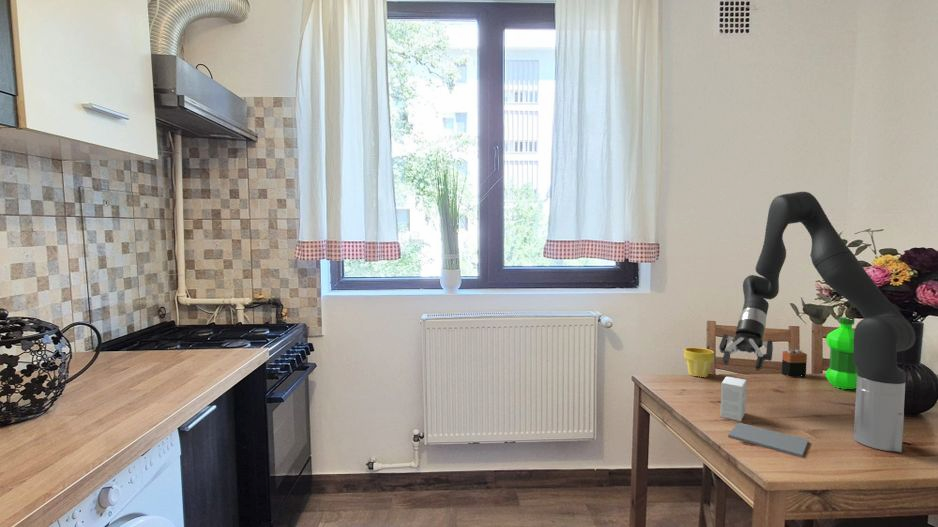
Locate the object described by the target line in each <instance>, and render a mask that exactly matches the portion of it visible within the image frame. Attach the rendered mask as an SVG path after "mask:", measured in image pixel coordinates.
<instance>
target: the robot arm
mask: <svg viewBox="0 0 938 527" xmlns="http://www.w3.org/2000/svg"><path fill="white" fill-rule="evenodd" d="M767 213H768V214H767V219H766V220H767V221H766V227H765V232H764V241H763V245H762V249H761V252H760V253H759V254H760V255H759V257H758V260H757V262H756V266H755V272H756V273H757V275H755V274H751V275H748V276H747V277H745V278H744V279H743V281H742V290H743V296H744V302H743V308H742V311H741V313H740V315H739V319H738V322H737V326H736V329H735V330H736V331H735V334H734V335H733V336H728V334H726V333H724V334H723V335H722V339H721V340H720V343H719V346H718V348H719V352H720V353H722V354H723V357H722V362H723V364H724V365H726V366H729V364H730V363H729V362H730V359H731V355H732V354H734V353H735V354H736V353H737V352H738V351H740V352H747V353H748V354H749V353H754V354H755V356H756V357H757V358H756V362H755V371H757V372H758V371H759V372H760V370H762V369H763V367H764V365H763V364H764V362H765V361H769V362H770V361H772V359H773V351H774V344H773V341H772V340H771V339H769V340H767V341H763V337H764V333H765V329H766V324H767V314H768V312H769V311H768V310H769V302H768V301H767V300H774V299H775V298H777V296H778V294H779V291H780V289H779V288H780V285H779V282H780V281H779V280H780V274H781V271H782V268H783V266H784V263H785V261H786V258H787V248H786V246H785V243H784V238H783V236H784V232H785V230H787V227H788V225H791V224H797V223H801V224H802V225H803V226H804V228H805V229H806V230H807V232H808V234H809V235H810V239H811V251H810V252H811V253H810V257H811V262H812V265H813V266H814V269H816V271H817V273H818V275H819V276H820V277H821V279H822V280H823V281H824V283H826V284H827V286H829V287H830V289H832V290H833V291H834V292H836V293H837V294H839V295H840V296H842V297H843V298H844V299H845V300H846V301H848V302H849V303H851V304H852V305H853V306H854V307H855V308H856V309H857V311H859V313H860V314H861V316H862V317H863V319H861V320H859V322H857V324H856V326H855V327H854V330H855V331H854V363H855V365H856V368H857V384H856V388H855V389H856V390H855V405H854V407H855V408H854V425H853V439H854V441H856V442H857V443H859V444H861V445H863V446H866V447H870V448H872V449H875V450H881V451H886V452H896V453H902V452H903V438H904V435H903V434H904V424H905V423H904V421H905V410H904V409H905V398H906V397H905V395H906V383H907V382H906V381H907V380H906V379H907V373H906V371H905V370H904V369H902V368H901V367H899V366H898V363H897V357H898V356H897V353H898V352H903V351H907V350H910V349H911V348H913V346H914V345H915V342H916V339H917V338H916V337H917V336H916V331H915V330H914V327H913V326H912V325H911V323H910V322H909V320H907V318H906V317H905V316H904V315H903V314H902V313H901V312H900V311H899V310H898V309H897V307H895V306H894V305H893V303H892V302H891V301H890V300H889V299H888V298H887V297H886V295H884V294H883V292H882V291H881V289H880V288H879V287H878V286H877V284H876V283H875V281H874V280H873V279H872V278H871V276H870V275H869V274H868V272H867V271H866V270H865V269H864V266H863V265H862V264H861V262H860V261H859V259H858V258H857V257H856V255H855V254H854V252H852V251H851V249H850V248H849V247H848V246H847V244H846V242H845V241H844V240H843V239H842V237H841V236H840V235H839V233H838V231H837V230H836V229H835V227H834V225H833V224H832V223H831V221H830V220H829V218H828V216H827V214H826V212H825V210H824V209H823V207H822V205H821V204H820V202H819V201H818V199H817V198H816V196H814V195H813V194H812V193H811V192H808V191H797V192H796V191H795V192H790V193H784V194H780V195H777V196H775V197H774V198H773V200H772V201H771V203H770V204H769V209H768V212H767ZM731 342H732V343H731ZM729 343H730V345H729V346H728V344H729ZM763 346H764V348H765V349H766V351H765V352H766V353H763V352H762V351H761V349H760V348H762V347H763Z"/></svg>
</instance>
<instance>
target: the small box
mask: <svg viewBox="0 0 938 527" xmlns="http://www.w3.org/2000/svg"><path fill="white" fill-rule="evenodd" d="M720 383H721V384H720V385H721V386H720V412H719V414H720V417H721V418H723V419H724V418H725V419H730V420H733V421H737V422H742V421H743V418H744V416H745V414H746V403H747V379H744V378H737V377H732V376H725V377H724V379H723V380H722V382H720Z"/></svg>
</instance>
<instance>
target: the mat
mask: <svg viewBox="0 0 938 527" xmlns="http://www.w3.org/2000/svg"><path fill="white" fill-rule="evenodd" d="M727 437H728V438H731V439H735V440H738V441H742V442H746V443H749V444H754V445H757V446H760V447H763V448H767V449H770V450H775V451H778V452H781V453H782V452H783V453H786V454H789V455H791V456H792V455H793V456H796V457H800V458H803V456H804V455H805V454H804V453H805V451H806V449H807V446H808V444H809V439H806V438H802V437H797V436H794V435H791V434H786V433H782V432H779V431H775V430H774V431H773V430H771V429H766V428H763V427H759V426H754V425H750V424H746V423H742V422H737V424H736V425H735V426H734V428H732V430H731V431H730V432H729V433H728V436H727Z"/></svg>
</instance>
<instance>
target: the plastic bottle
mask: <svg viewBox="0 0 938 527" xmlns="http://www.w3.org/2000/svg"><path fill="white" fill-rule="evenodd" d="M840 317H841V318H840V319H839V318H838V324H839V327H838V328H836V329H834V330H832V331H831V332H829V333H828V334H827V336H826V339H825V340H826V342H825V343H826V345H827V346H828V347H829V348H830V354H829V367H828V369H827V370H826V372H825V377H826V379H827V381H828V382H829V383H830V384H831V386H833V387H834V388H835V387H837V388H836V389H838V388H841V389H840V390H843V389H853V390H854V389H856V384H857V368H856V365H855V363H854V331H855V329H853V325H855V318H853V319H852V320H850V319H847V318H848V317H845V316H840Z"/></svg>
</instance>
